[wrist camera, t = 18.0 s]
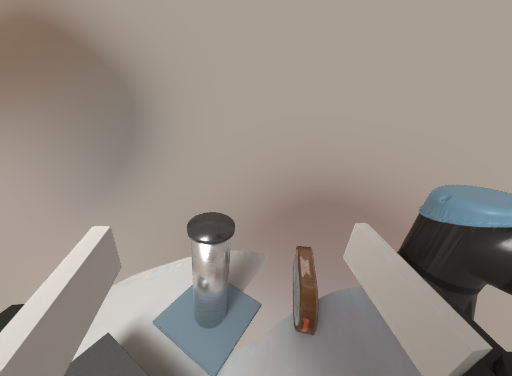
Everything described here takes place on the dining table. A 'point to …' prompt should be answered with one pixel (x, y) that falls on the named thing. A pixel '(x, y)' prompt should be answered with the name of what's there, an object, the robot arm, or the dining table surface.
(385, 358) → the dining table surface
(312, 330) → the tin
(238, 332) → the mat
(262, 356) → the dining table surface
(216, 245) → the silver metal cylinder
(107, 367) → the housing
